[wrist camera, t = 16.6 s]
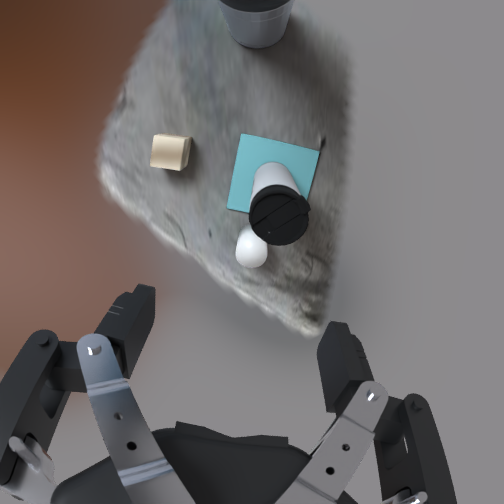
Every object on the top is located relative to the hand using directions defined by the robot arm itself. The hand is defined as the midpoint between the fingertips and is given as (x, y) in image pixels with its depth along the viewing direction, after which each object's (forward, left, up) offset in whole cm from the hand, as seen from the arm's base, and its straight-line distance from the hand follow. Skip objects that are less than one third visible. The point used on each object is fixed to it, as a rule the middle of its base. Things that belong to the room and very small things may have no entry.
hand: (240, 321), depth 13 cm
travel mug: (+1, +3, -38) cm, 38 cm away
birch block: (-1, -14, -38) cm, 41 cm away
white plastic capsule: (+12, +2, -38) cm, 40 cm away
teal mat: (+1, +3, -38) cm, 38 cm away
